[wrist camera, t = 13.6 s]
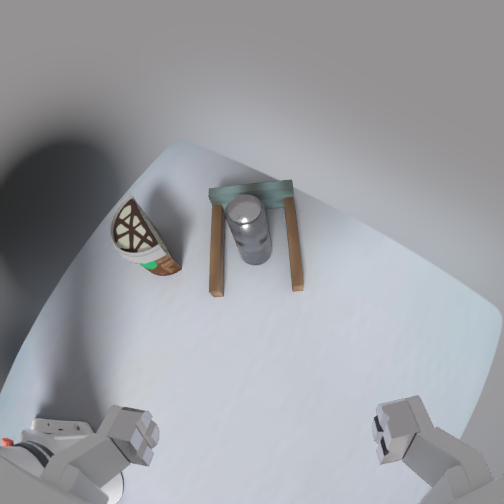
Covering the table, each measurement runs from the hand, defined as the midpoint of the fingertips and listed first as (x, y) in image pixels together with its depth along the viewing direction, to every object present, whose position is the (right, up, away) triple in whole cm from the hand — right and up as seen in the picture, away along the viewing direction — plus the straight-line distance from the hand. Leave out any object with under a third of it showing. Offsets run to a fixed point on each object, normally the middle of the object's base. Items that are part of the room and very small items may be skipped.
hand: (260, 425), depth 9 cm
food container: (-16, +5, +38) cm, 42 cm away
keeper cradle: (0, +7, +36) cm, 37 cm away
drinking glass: (0, +6, +36) cm, 36 cm away
